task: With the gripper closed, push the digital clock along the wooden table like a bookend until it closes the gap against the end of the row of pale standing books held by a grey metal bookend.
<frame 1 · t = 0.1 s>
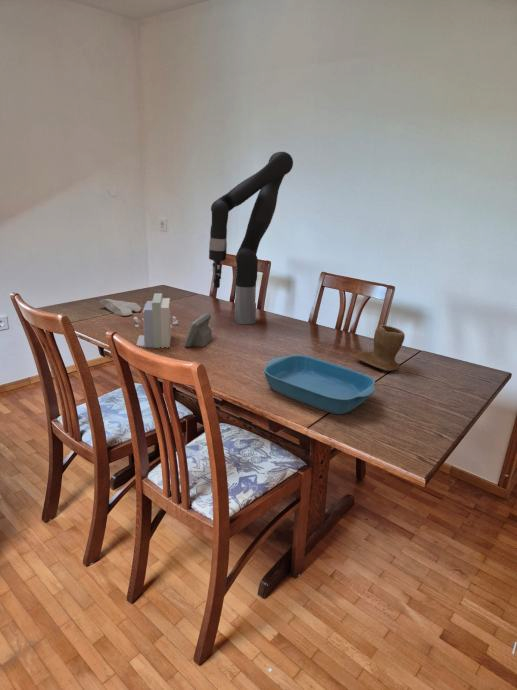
hand: (216, 285, 200), 17 cm above the table, tool pointing down, fingers open, 8 cm apart
rock: (123, 311, 217), on the table
game piece set: (156, 325, 201), on the table
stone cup: (379, 365, 166), on the table
digital clock: (198, 342, 181), on the table
casserole dish: (316, 394, 142), on the table
book row: (157, 341, 179), on the table
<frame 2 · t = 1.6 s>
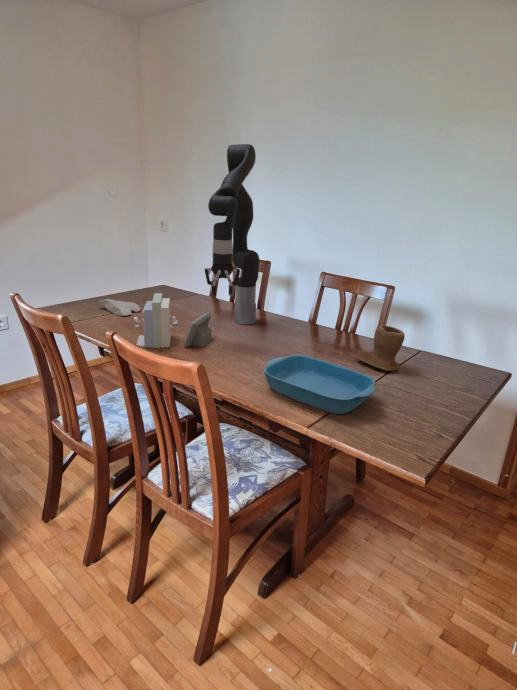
hand: (222, 294, 175), 19 cm above the table, tool pointing down, fingers open, 5 cm apart
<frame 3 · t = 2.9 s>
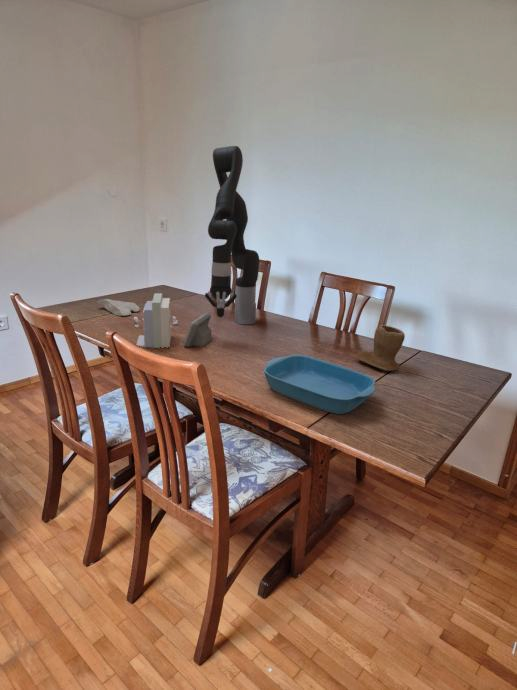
hand: (220, 316, 179), 11 cm above the table, tool pointing down, fingers closed
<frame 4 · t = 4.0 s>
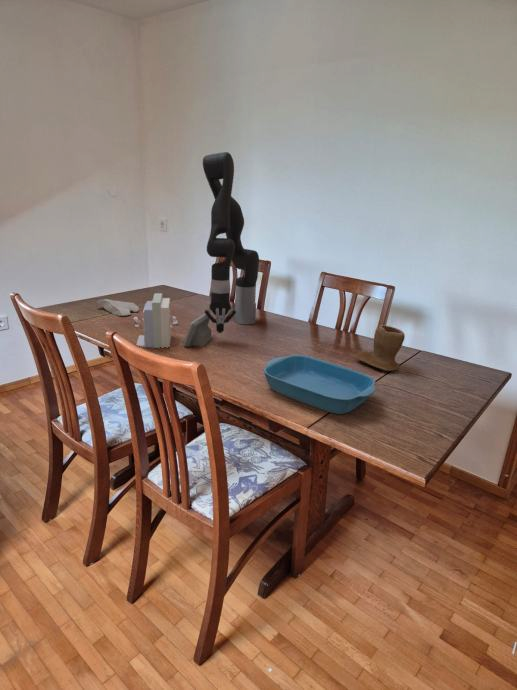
hand: (219, 332, 181), 4 cm above the table, tool pointing down, fingers closed
nothing on the table moved.
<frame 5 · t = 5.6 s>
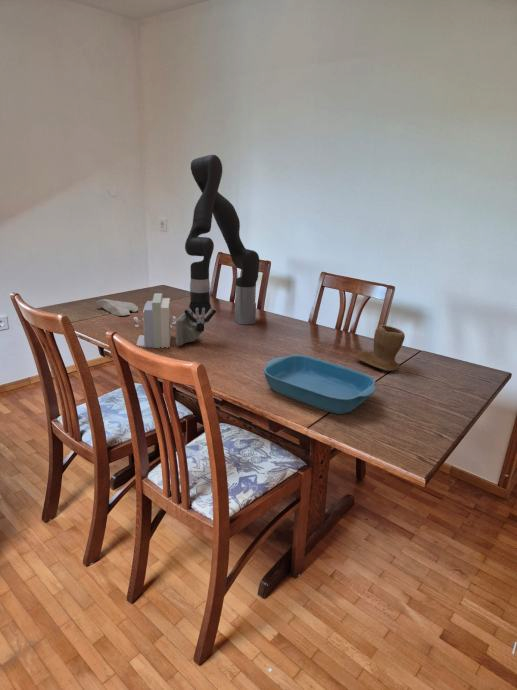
hand: (200, 331, 179), 4 cm above the table, tool pointing down, fingers closed
digital clock: (189, 339, 181), point 1 cm above the table, touching gripper, hand
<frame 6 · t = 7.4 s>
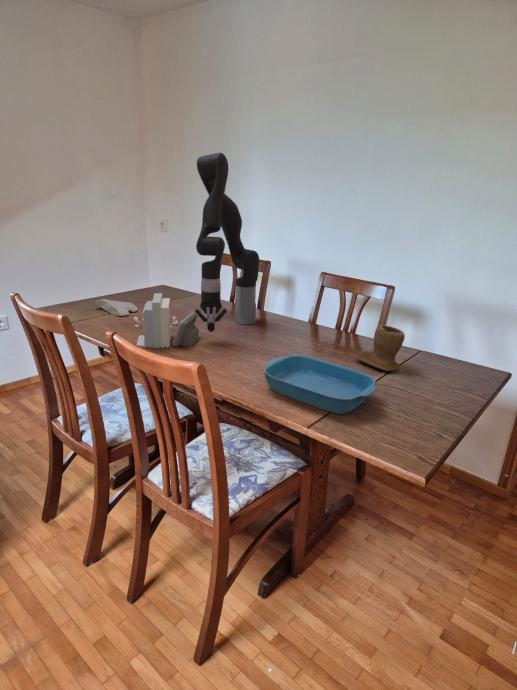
hand: (210, 331, 180), 4 cm above the table, tool pointing down, fingers closed
digital clock: (185, 342, 181), on the table
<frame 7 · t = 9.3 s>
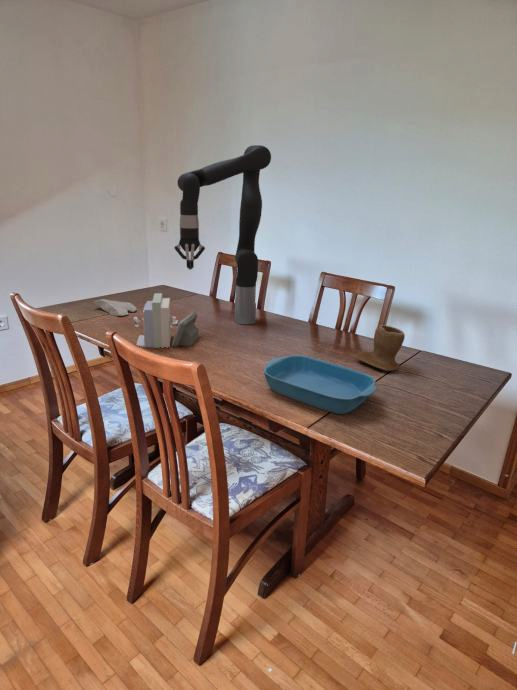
hand: (190, 269, 187), 26 cm above the table, tool pointing down, fingers closed
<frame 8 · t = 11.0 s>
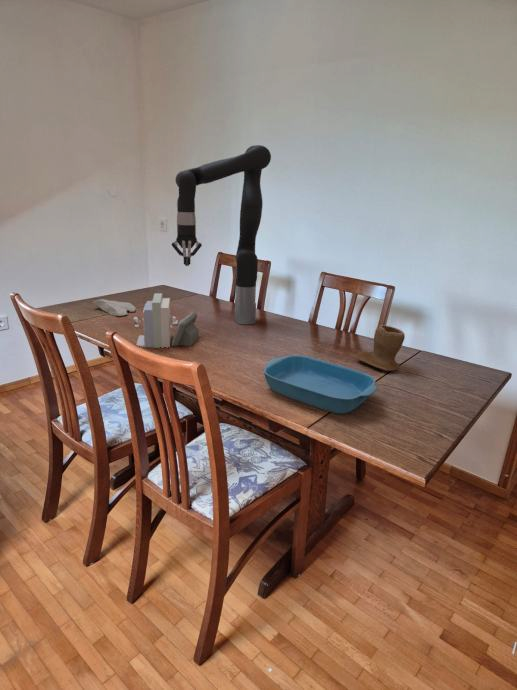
hand: (187, 265, 189), 27 cm above the table, tool pointing down, fingers closed
at the end: digital clock inside the target area (1.8 cm from its centre), on the table; digital clock tilted 0°; digital clock moved 5.3 cm from its start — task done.
